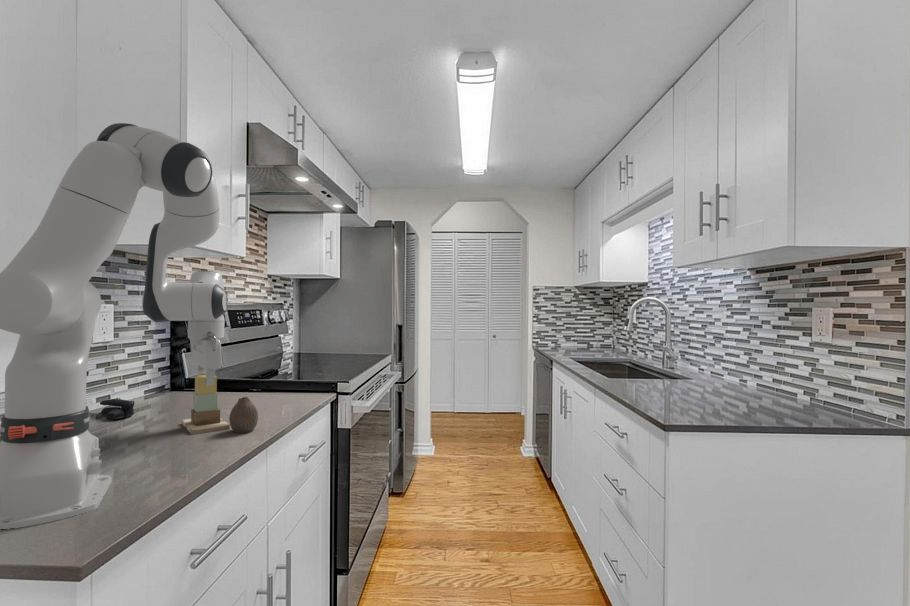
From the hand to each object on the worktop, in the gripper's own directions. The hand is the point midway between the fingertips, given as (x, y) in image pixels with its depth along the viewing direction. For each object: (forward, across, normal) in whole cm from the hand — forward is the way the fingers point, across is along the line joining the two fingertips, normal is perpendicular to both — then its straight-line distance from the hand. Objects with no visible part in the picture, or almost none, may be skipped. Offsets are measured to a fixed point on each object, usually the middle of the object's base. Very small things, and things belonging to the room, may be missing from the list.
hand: (205, 382), depth 134 cm
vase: (+12, -11, -7) cm, 18 cm away
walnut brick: (+11, 0, 0) cm, 11 cm away
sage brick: (+7, 0, 0) cm, 7 cm away
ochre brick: (+3, 0, 0) cm, 3 cm away
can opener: (+12, +30, +19) cm, 38 cm away
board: (+12, 0, 0) cm, 12 cm away
